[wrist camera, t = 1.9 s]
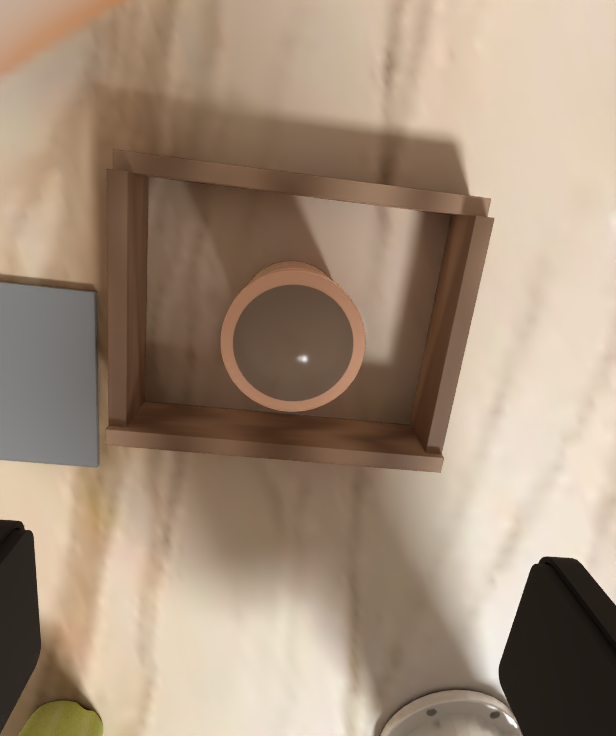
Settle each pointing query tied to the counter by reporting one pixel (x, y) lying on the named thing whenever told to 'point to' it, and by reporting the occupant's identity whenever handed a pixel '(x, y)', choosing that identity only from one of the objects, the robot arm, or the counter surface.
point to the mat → (48, 375)
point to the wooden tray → (272, 430)
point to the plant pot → (62, 721)
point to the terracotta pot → (292, 338)
